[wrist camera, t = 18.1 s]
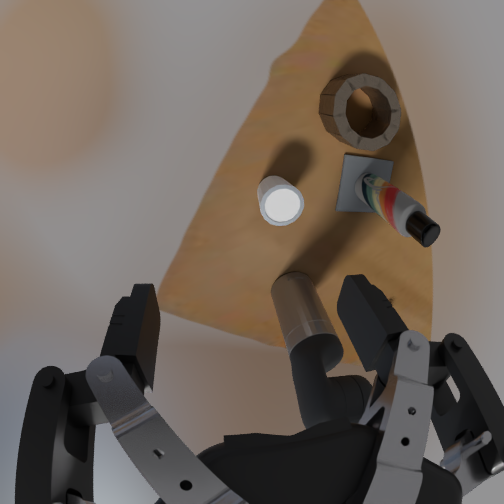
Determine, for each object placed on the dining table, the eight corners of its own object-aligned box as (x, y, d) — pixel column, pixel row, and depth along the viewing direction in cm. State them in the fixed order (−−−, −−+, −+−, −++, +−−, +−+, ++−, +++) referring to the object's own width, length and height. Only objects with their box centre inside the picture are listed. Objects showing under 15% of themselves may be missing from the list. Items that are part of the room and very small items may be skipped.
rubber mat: (381, 211, 52) (382, 212, 52) (335, 210, 50) (336, 211, 50) (392, 161, 46) (393, 161, 46) (344, 154, 45) (345, 154, 44)
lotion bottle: (368, 166, 46) (439, 210, 29) (383, 185, 48) (450, 234, 32) (348, 186, 48) (411, 239, 31) (364, 205, 50) (425, 261, 33)
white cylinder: (248, 178, 45) (254, 192, 39) (287, 167, 45) (299, 179, 39) (259, 213, 49) (266, 231, 43) (295, 202, 49) (307, 219, 43)
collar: (376, 147, 44) (394, 154, 39) (316, 138, 43) (329, 145, 38) (384, 84, 38) (403, 85, 33) (322, 69, 36) (337, 66, 31)
